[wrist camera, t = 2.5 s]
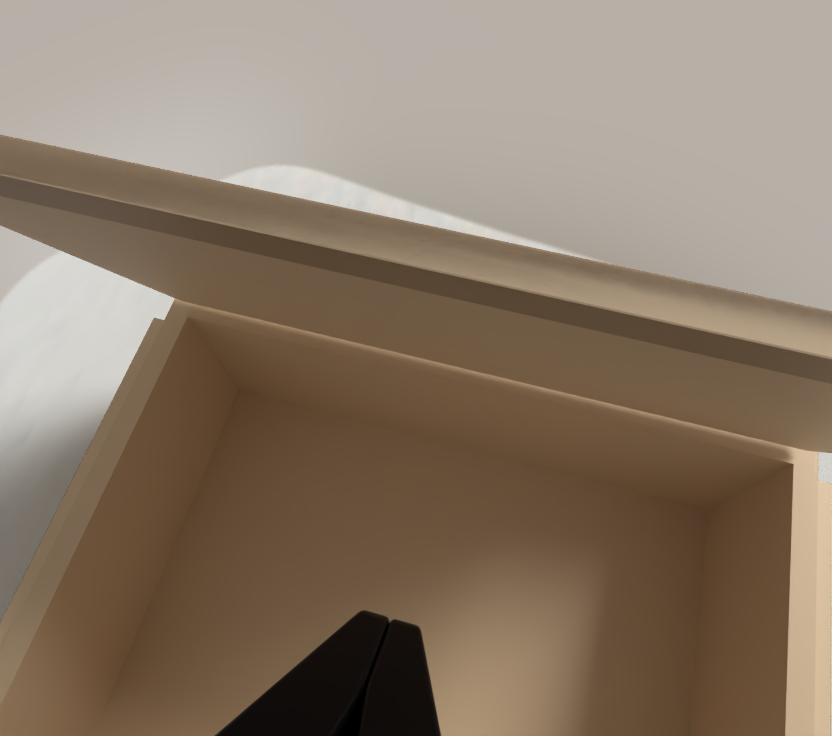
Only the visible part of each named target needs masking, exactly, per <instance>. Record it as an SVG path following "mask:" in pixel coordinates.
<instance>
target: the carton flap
mask: <svg viewBox="0 0 832 736" xmlns="http://www.w3.org/2000/svg"><path fill="white" fill-rule="evenodd" d="M0 225H1V226H3V227H6V228H8V229H11V230H13V231H15V232H18V233H20V234H22V235H25V236H27V237H30V238H32V239H34V240H37V241H39V242H42V243H44V244H46V245H49V246H51V247H54V248H56V249H58V250H61V251H63V252H66V253H68V254H70V255H73V256H75V257H78V258H80V259H82V260H85V261H87V262H90V263H92V264H94V265H97V266H99V267H102V268H104V269H106V270H109V271H111V272H113V273H116V274H118V275H121V276H123V277H125V278H128V279H130V280H133V281H135V282H137V283H140V284H142V285H145V286H147V287H149V288H152V289H154V290H157V291H159V292H161V293H164V294H166V295H169V296H171V297H173V298H176V299H178V300H181V301H184V302H188V303H192V304H196V305H201V306H205V307H209V308H213V309H217V310H221V311H226V312H230V313H234V314H238V315H242V316H246V317H251V318H255V319H259V320H263V321H267V322H271V323H276V324H280V325H284V326H288V327H292V328H296V329H301V330H305V331H309V332H313V333H317V334H322V335H326V336H330V337H334V338H338V339H342V340H347V341H351V342H355V343H359V344H363V345H367V346H372V347H376V348H380V349H384V350H388V351H392V352H397V353H401V354H405V355H409V356H413V357H417V358H422V359H426V360H430V361H434V362H438V363H443V364H447V365H451V366H455V367H459V368H463V369H468V370H472V371H476V372H480V373H484V374H488V375H493V376H497V377H501V378H505V379H509V380H513V381H518V382H522V383H526V384H530V385H534V386H538V387H543V388H547V389H551V390H555V391H559V392H564V393H568V394H572V395H576V396H580V397H584V398H589V399H593V400H597V401H601V402H605V403H609V404H614V405H618V406H622V407H626V408H630V409H634V410H639V411H643V412H647V413H651V414H655V415H659V416H664V417H668V418H672V419H676V420H680V421H684V422H689V423H693V424H697V425H701V426H705V427H710V428H714V429H718V430H722V431H726V432H730V433H735V434H739V435H743V436H747V437H751V438H755V439H760V440H764V441H768V442H772V443H776V444H780V445H785V446H789V447H793V448H797V449H801V450H805V451H812V452H826V453H832V311H828V310H823V309H818V308H814V307H809V306H804V305H800V304H795V303H790V302H785V301H780V300H776V299H771V298H766V297H762V296H757V295H753V294H748V293H743V292H738V291H733V290H729V289H724V288H720V287H715V286H710V285H705V284H700V283H696V282H691V281H686V280H682V279H677V278H673V277H667V276H663V275H658V274H653V273H649V272H644V271H640V270H635V269H630V268H625V267H621V266H616V265H611V264H607V263H602V262H597V261H592V260H588V259H583V258H578V257H574V256H569V255H564V254H560V253H555V252H550V251H545V250H541V249H536V248H531V247H527V246H522V245H517V244H512V243H508V242H503V241H498V240H494V239H489V238H484V237H479V236H475V235H470V234H465V233H461V232H456V231H451V230H447V229H442V228H437V227H432V226H428V225H423V224H418V223H414V222H409V221H404V220H399V219H395V218H390V217H385V216H381V215H376V214H371V213H367V212H362V211H357V210H352V209H348V208H343V207H338V206H334V205H329V204H324V203H319V202H315V201H310V200H305V199H301V198H296V197H291V196H286V195H282V194H277V193H272V192H268V191H263V190H258V189H254V188H249V187H244V186H239V185H235V184H230V183H225V182H221V181H216V180H211V179H206V178H201V177H197V176H192V175H187V174H183V173H178V172H173V171H169V170H164V169H159V168H154V167H150V166H145V165H141V164H135V163H131V162H126V161H122V160H117V159H112V158H107V157H103V156H98V155H93V154H89V153H84V152H79V151H75V150H70V149H65V148H60V147H56V146H51V145H46V144H42V143H37V142H32V141H27V140H22V139H18V138H13V137H9V136H4V135H0Z"/></svg>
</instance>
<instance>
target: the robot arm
mask: <svg viewBox="0 0 832 736" xmlns="http://www.w3.org/2000/svg"><path fill="white" fill-rule="evenodd" d="M215 736H441V732H440V727H439V722H438V716H437V711H436V706H435V701H434V695H433V690H432V685H431V679H430V674H429V669H428V664H427V658H426V653H425V648H424V642H423V637H422V632H421V629H420V628H419V626H417V625H414V624H411V623H408V622H404V621H401V620H397V619H393V620H392V621H391V622H389V619H388V617H386V616H384V615H380V614H377V613H374V612H370V611H367V610H362V611H360V612H358V613H357V614H356V615H355V616H353V617H352V618H351V619H350V620H349V621H348V622H346V623H345V624H344V625H343V626H342V627H341V628H339V629H338V630H337V631H336V632H335V633H334V634H332V635H331V636H330V637H329V638H328V639H327V640H325V641H324V642H323V643H322V644H321V645H320V646H318V647H317V648H316V649H315V650H314V651H313V652H311V653H310V654H309V655H308V656H307V657H306V658H304V659H303V660H302V661H301V662H300V663H299V664H297V665H296V666H295V667H294V668H293V669H292V670H290V671H289V672H288V673H287V674H286V675H285V676H283V677H282V678H281V679H280V680H279V681H278V682H276V683H275V684H274V685H273V686H272V687H271V688H269V689H268V690H267V691H266V692H265V693H264V694H262V695H261V696H260V697H259V698H258V699H257V700H255V701H254V702H253V703H252V704H251V705H250V706H248V707H247V708H246V709H245V710H244V711H243V712H241V713H240V714H239V715H238V716H237V717H236V718H234V719H233V720H232V721H231V722H230V723H229V724H227V725H226V726H225V727H224V728H223V729H222V730H220V731H219V732H218V733H217V734H216V735H215Z"/></svg>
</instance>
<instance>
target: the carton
mask: <svg viewBox="0 0 832 736" xmlns="http://www.w3.org/2000/svg"><path fill="white" fill-rule="evenodd" d="M362 610H367V611H370V612H374V613H377V614H380V615H384V616H386V617H388V619H389V622H391V621H392V620H393V619H397V620H401V621H404V622H408V623H411V624H414V625H417V626H419V628H420V629H421V632H422V637H423V642H424V648H425V653H426V658H427V664H428V669H429V674H430V679H431V685H432V690H433V695H434V701H435V706H436V711H437V716H438V722H439V727H440V732H441V736H831V611H832V484H831V483H827V482H823V481H819V480H818V452H812V451H805V450H801V449H797V448H793V447H789V446H785V445H780V444H776V443H772V442H768V441H764V440H760V439H755V438H751V437H747V436H743V435H739V434H735V433H730V432H726V431H722V430H718V429H714V428H710V427H705V426H701V425H697V424H693V423H689V422H684V421H680V420H676V419H672V418H668V417H664V416H659V415H655V414H651V413H647V412H643V411H639V410H634V409H630V408H626V407H622V406H618V405H614V404H609V403H605V402H601V401H597V400H593V399H589V398H584V397H580V396H576V395H572V394H568V393H564V392H559V391H555V390H551V389H547V388H543V387H538V386H534V385H530V384H526V383H522V382H518V381H513V380H509V379H505V378H501V377H497V376H493V375H488V374H484V373H480V372H476V371H472V370H468V369H463V368H459V367H455V366H451V365H447V364H443V363H438V362H434V361H430V360H426V359H422V358H417V357H413V356H409V355H405V354H401V353H397V352H392V351H388V350H384V349H380V348H376V347H372V346H367V345H363V344H359V343H355V342H351V341H347V340H342V339H338V338H334V337H330V336H326V335H322V334H317V333H313V332H309V331H305V330H301V329H296V328H292V327H288V326H284V325H280V324H276V323H271V322H267V321H263V320H259V319H255V318H251V317H246V316H242V315H238V314H234V313H230V312H226V311H221V310H217V309H213V308H209V307H205V306H201V305H196V304H192V303H188V302H184V301H181V300H178V299H176V298H175V300H174V302H173V304H172V306H171V308H170V310H169V312H168V314H167V316H166V318H165V320H161V319H157V318H154V319H153V321H152V323H151V325H150V327H149V329H148V331H147V333H146V335H145V337H144V339H143V341H142V343H141V345H140V347H139V349H138V351H137V353H136V355H135V356H134V358H133V360H132V362H131V364H130V366H129V368H128V370H127V372H126V374H125V376H124V378H123V380H122V382H121V384H120V386H119V388H118V390H117V392H116V394H115V396H114V398H113V400H112V402H111V404H110V406H109V408H108V410H107V412H106V414H105V416H104V418H103V420H102V422H101V424H100V426H99V428H98V430H97V432H96V434H95V436H94V438H93V440H92V442H91V444H90V446H89V448H88V450H87V452H86V454H85V456H84V458H83V460H82V462H81V463H80V465H79V467H78V469H77V471H76V473H75V475H74V477H73V479H72V481H71V483H70V485H69V487H68V489H67V491H66V493H65V495H64V497H63V499H62V501H61V503H60V505H59V507H58V509H57V511H56V513H55V515H54V517H53V519H52V521H51V523H50V525H49V527H48V529H47V531H46V533H45V535H44V537H43V539H42V541H41V543H40V545H39V547H38V549H37V551H36V553H35V555H34V557H33V559H32V561H31V563H30V565H29V567H28V568H27V570H26V572H25V574H24V576H23V578H22V580H21V582H20V584H19V586H18V588H17V590H16V592H15V594H14V596H13V598H12V600H11V602H10V604H9V606H8V608H7V610H6V612H5V614H4V616H3V618H2V620H1V622H0V736H215V735H216V734H217V733H218V732H219V731H220V730H222V729H223V728H224V727H225V726H226V725H227V724H229V723H230V722H231V721H232V720H233V719H234V718H236V717H237V716H238V715H239V714H240V713H241V712H243V711H244V710H245V709H246V708H247V707H248V706H250V705H251V704H252V703H253V702H254V701H255V700H257V699H258V698H259V697H260V696H261V695H262V694H264V693H265V692H266V691H267V690H268V689H269V688H271V687H272V686H273V685H274V684H275V683H276V682H278V681H279V680H280V679H281V678H282V677H283V676H285V675H286V674H287V673H288V672H289V671H290V670H292V669H293V668H294V667H295V666H296V665H297V664H299V663H300V662H301V661H302V660H303V659H304V658H306V657H307V656H308V655H309V654H310V653H311V652H313V651H314V650H315V649H316V648H317V647H318V646H320V645H321V644H322V643H323V642H324V641H325V640H327V639H328V638H329V637H330V636H331V635H332V634H334V633H335V632H336V631H337V630H338V629H339V628H341V627H342V626H343V625H344V624H345V623H346V622H348V621H349V620H350V619H351V618H352V617H353V616H355V615H356V614H357V613H358V612H360V611H362Z"/></svg>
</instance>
